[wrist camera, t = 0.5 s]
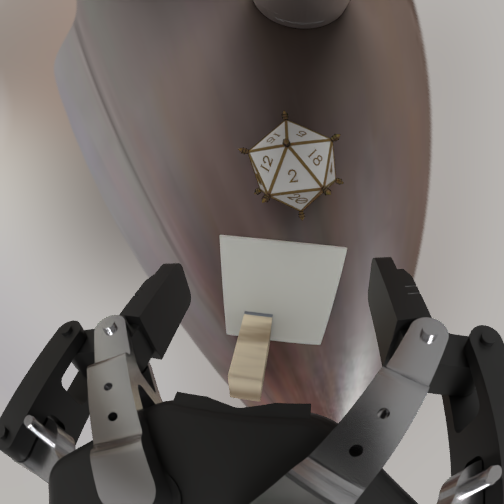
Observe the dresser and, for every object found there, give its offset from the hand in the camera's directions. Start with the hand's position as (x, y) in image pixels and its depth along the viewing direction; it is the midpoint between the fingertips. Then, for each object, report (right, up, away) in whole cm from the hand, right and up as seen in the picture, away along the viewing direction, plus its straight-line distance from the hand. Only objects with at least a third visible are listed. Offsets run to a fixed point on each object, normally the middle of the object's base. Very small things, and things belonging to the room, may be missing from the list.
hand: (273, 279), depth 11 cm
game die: (+3, +11, +15) cm, 19 cm away
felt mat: (+3, -5, +25) cm, 26 cm away
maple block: (0, -10, +29) cm, 30 cm away
